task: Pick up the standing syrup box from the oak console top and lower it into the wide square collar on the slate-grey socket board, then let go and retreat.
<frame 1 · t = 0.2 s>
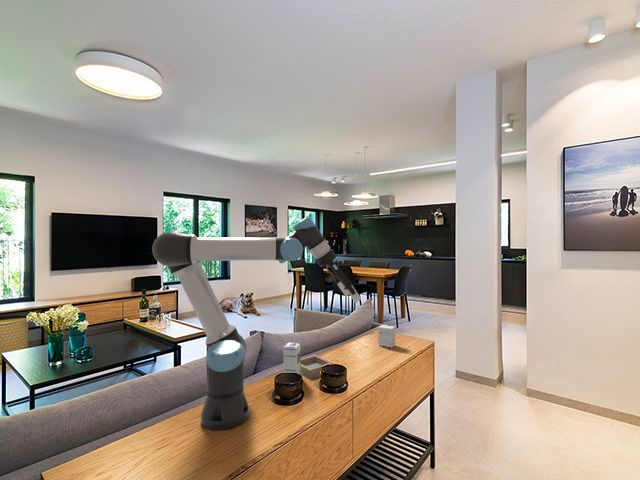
hand: (353, 297, 128), 35 cm above the sideboard, tool tilted 35°, fingers open, 13 cm apart
small box: (386, 346, 177), on the sideboard
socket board: (312, 369, 145), on the sideboard
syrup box: (292, 379, 135), on the sideboard
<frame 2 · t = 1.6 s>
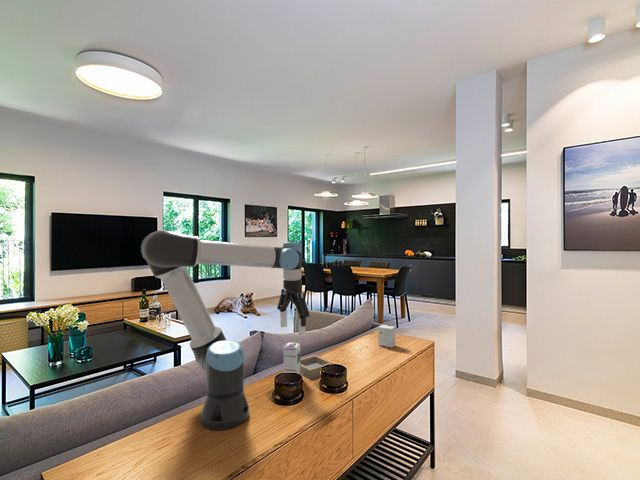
hand: (292, 330, 135), 20 cm above the sideboard, tool pointing down, fingers open, 13 cm apart
nothing on the sideboard moved.
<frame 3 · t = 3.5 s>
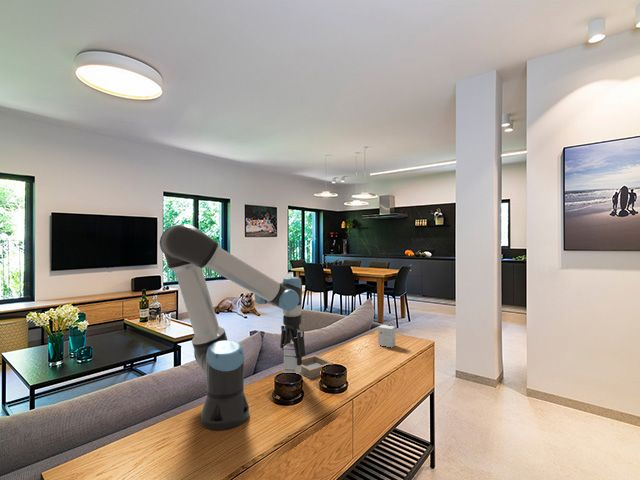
hand: (292, 369, 135), 4 cm above the sideboard, tool pointing down, fingers closed on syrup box, 8 cm apart
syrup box: (292, 379, 135), on the sideboard, touching gripper
everything else where it was.
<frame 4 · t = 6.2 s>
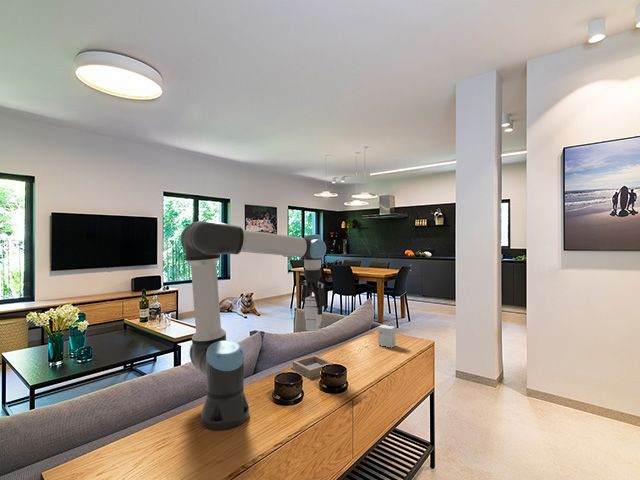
hand: (312, 319, 145), 22 cm above the sideboard, tool pointing down, fingers closed on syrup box, 8 cm apart
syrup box: (313, 329, 145), point 18 cm above the sideboard, touching gripper
everything else where it was.
when the fingers open (6 cm above the sideboard, at t = 8.8 s): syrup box stays where it is, resting on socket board.
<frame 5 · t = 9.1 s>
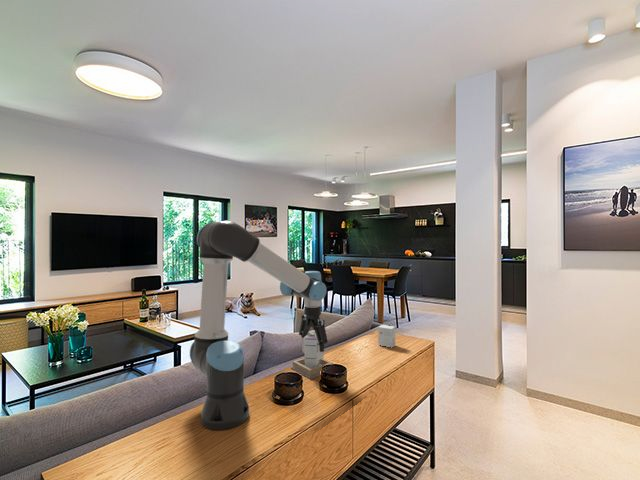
hand: (312, 355, 145), 6 cm above the sideboard, tool pointing down, fingers open, 10 cm apart
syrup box: (312, 367, 146), point 1 cm above the sideboard, touching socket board
everything else where it was.
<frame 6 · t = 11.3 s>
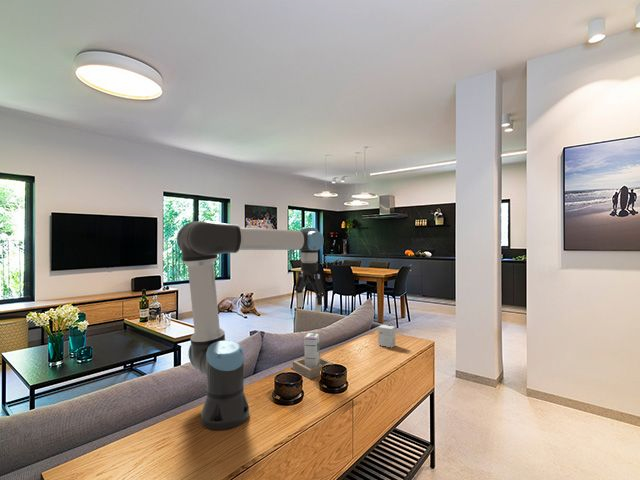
hand: (309, 309, 145), 27 cm above the sideboard, tool pointing down, fingers open, 13 cm apart
nothing on the sideboard moved.
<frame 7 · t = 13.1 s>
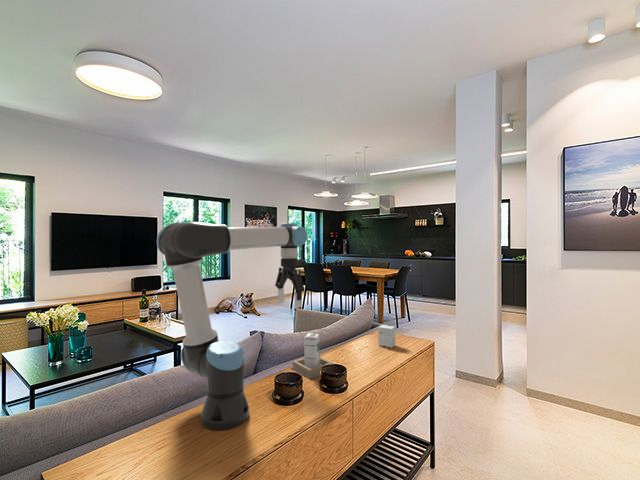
hand: (289, 305, 146), 29 cm above the sideboard, tool pointing down, fingers open, 13 cm apart
nothing on the sideboard moved.
at the end: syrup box inside the target area on the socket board (0.4 cm from its centre), point 0.6 cm above the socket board's base; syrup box tilted 0°; the gripper is holding nothing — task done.
